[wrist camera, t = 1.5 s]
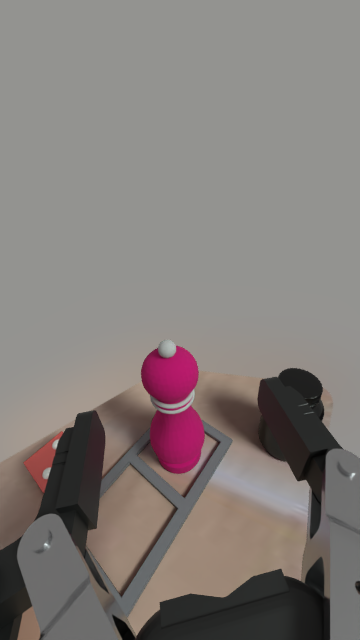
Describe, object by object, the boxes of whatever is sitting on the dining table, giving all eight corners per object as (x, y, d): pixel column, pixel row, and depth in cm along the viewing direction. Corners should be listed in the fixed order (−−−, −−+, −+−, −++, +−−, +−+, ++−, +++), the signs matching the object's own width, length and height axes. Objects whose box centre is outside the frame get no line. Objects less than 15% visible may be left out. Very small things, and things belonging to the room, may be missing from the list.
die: (58, 508, 29) (40, 489, 25) (39, 480, 31) (21, 460, 28) (93, 472, 32) (81, 451, 29) (73, 450, 34) (60, 428, 31)
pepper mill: (147, 439, 35) (120, 333, 24) (190, 419, 37) (183, 313, 26) (165, 489, 30) (141, 382, 18) (214, 461, 32) (219, 351, 21)
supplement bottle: (313, 432, 34) (339, 375, 28) (301, 474, 30) (329, 420, 23) (266, 409, 38) (279, 355, 31) (250, 445, 34) (261, 389, 27)
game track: (0, 829, 15) (-5, 833, 14) (-46, 645, 21) (-50, 644, 20) (232, 442, 34) (232, 439, 34) (174, 404, 40) (173, 401, 40)
